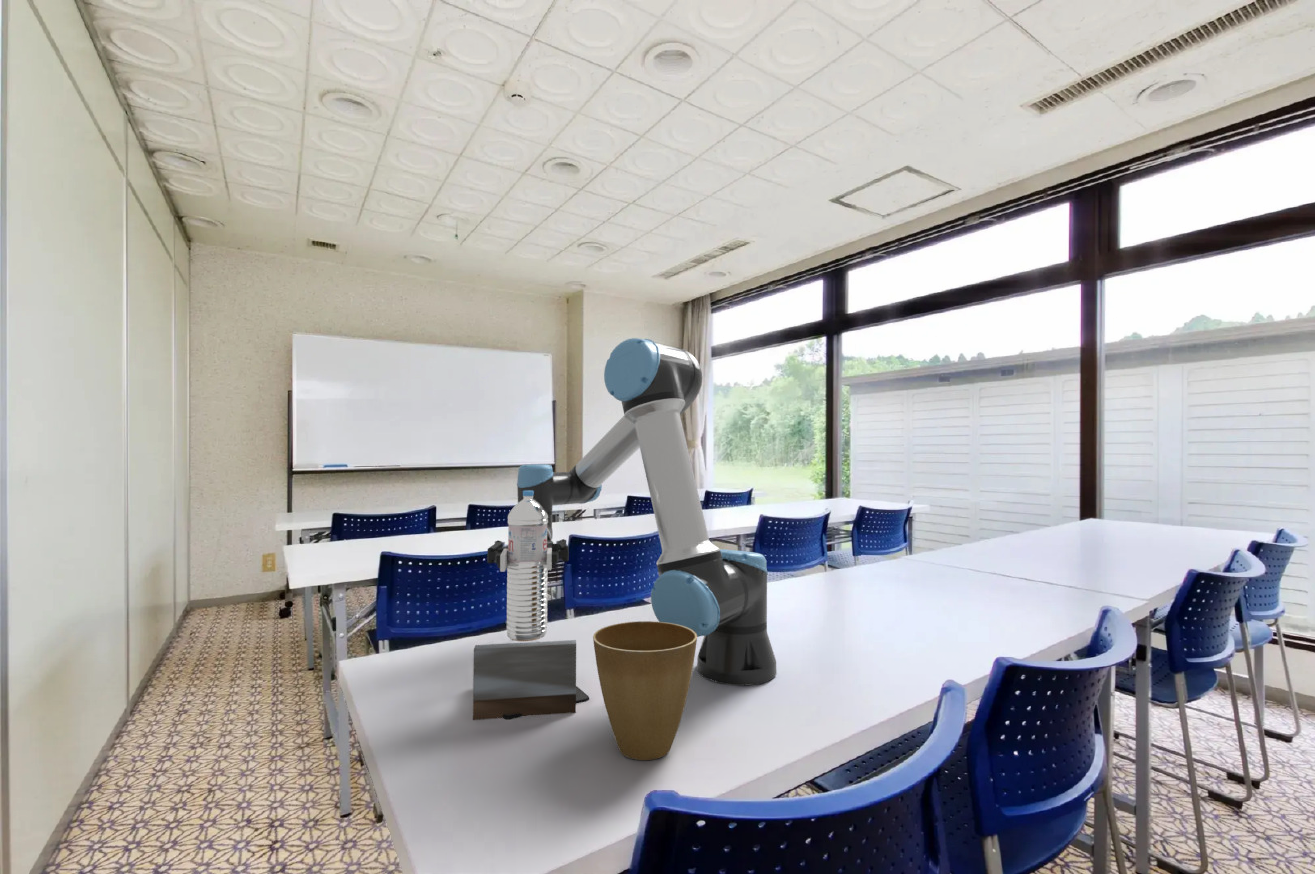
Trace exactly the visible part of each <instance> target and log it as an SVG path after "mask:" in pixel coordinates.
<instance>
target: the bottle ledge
mask: <svg viewBox="0 0 1315 874" xmlns="http://www.w3.org/2000/svg"><path fill="white" fill-rule="evenodd" d="M472 666H473V670H472V671H473V675H472V677H473V679H472V680H473V682H472V689H473V691H472V721H477V720H479V721H480V720H491V719H494V720H495V719H503V714H517V713H521V714H522V716H523V717H534V716H546V715H559V714H560V715H561V714H563V715H564V714H575V713H576V712H577V704H576V686H577V640H576V639H570V640H568V639H567V640H552V641H551V640H549V641H548V640H547V641H526V642H510V643H492V644H490V643H489V644H475V645H474V647H473V665H472Z"/></svg>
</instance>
